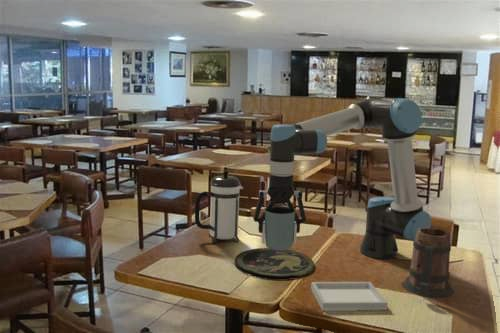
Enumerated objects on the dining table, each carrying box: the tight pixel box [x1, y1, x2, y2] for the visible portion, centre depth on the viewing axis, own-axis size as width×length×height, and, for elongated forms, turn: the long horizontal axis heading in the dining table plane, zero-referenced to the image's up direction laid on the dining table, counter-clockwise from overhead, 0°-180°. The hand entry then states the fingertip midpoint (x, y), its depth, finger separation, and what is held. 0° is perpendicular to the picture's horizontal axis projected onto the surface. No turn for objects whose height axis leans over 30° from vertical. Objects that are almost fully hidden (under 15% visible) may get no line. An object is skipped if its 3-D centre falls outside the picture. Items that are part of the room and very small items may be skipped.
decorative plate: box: [234, 247, 315, 280], centre depth 187 cm, size 30×2×30 cm
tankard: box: [401, 227, 455, 299], centre depth 165 cm, size 24×17×20 cm
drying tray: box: [310, 281, 389, 312], centre depth 158 cm, size 20×16×2 cm
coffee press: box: [194, 169, 244, 244], centre depth 211 cm, size 17×16×30 cm
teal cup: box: [263, 205, 296, 250], centre depth 160 cm, size 10×10×12 cm
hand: (278, 242), depth 160 cm, fingers closed on teal cup, 9 cm apart
